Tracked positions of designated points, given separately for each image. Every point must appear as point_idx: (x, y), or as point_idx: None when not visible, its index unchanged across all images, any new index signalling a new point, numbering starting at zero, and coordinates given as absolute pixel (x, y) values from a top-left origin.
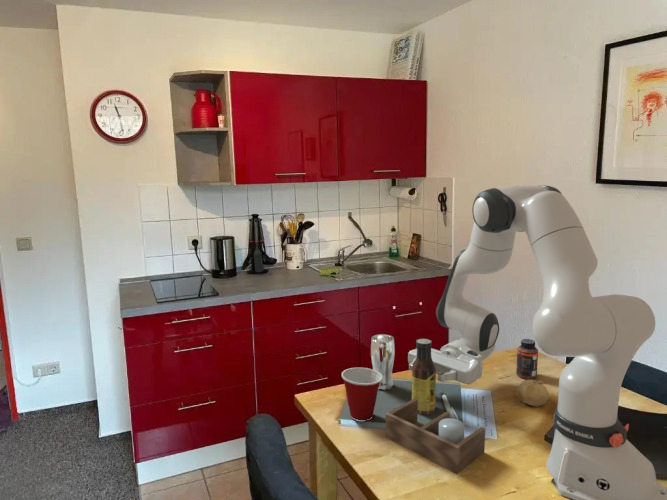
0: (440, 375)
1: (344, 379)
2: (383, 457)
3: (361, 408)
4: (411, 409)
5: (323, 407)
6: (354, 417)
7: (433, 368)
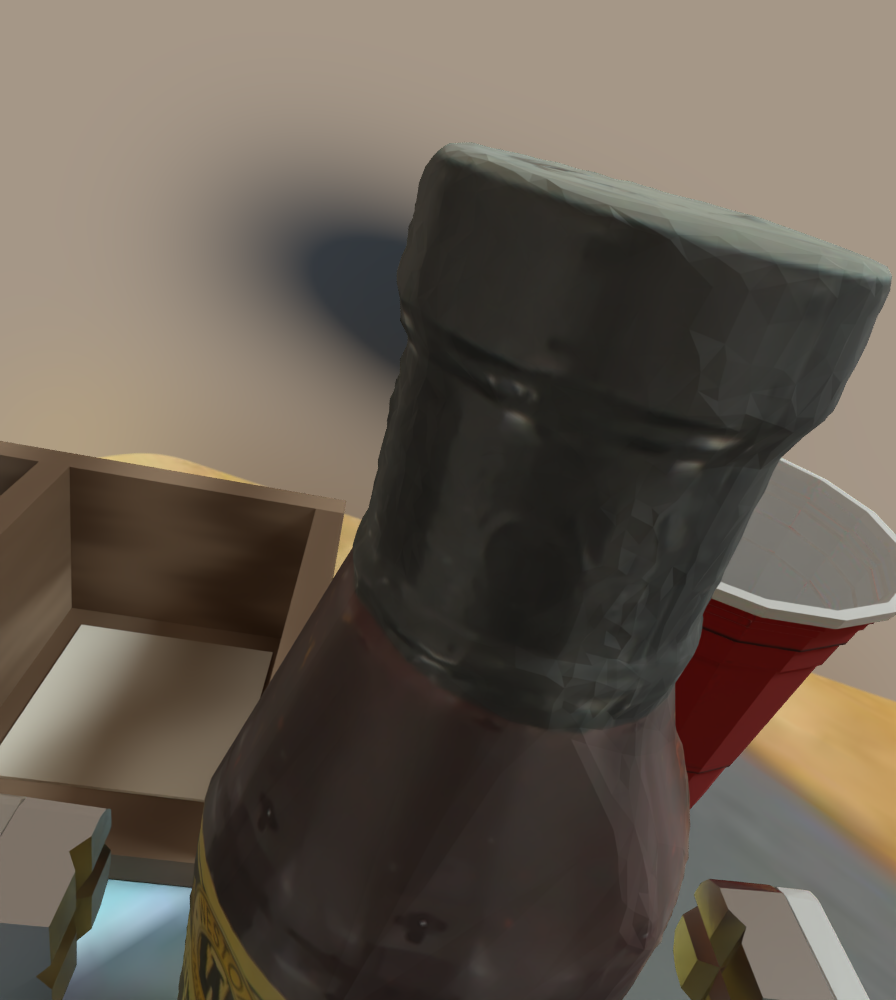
0: (44, 800)
1: None
2: None
3: None
4: None
5: (827, 727)
6: None
7: (241, 761)
